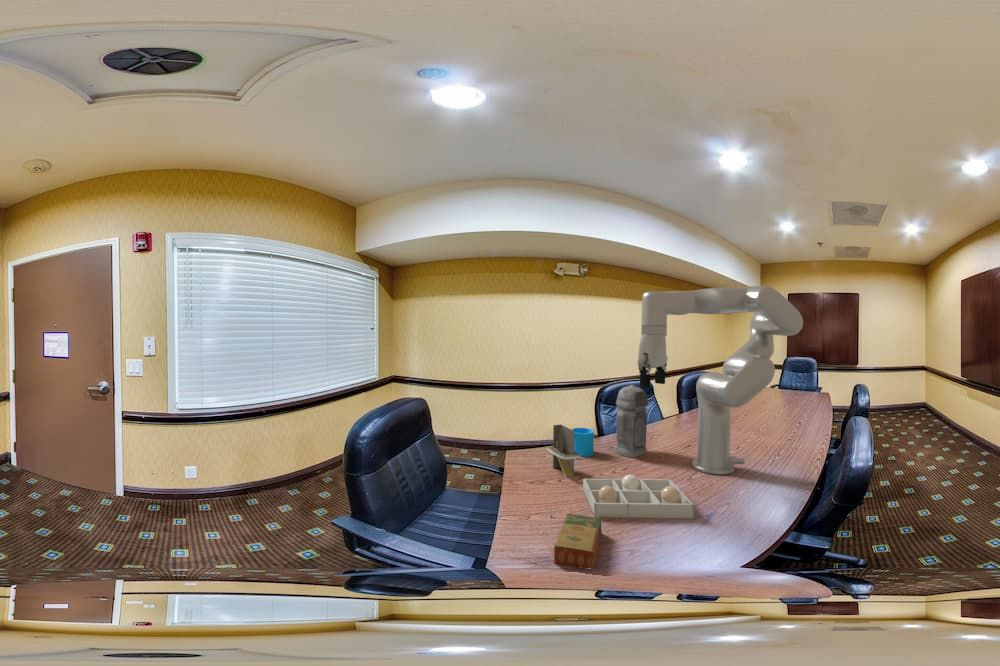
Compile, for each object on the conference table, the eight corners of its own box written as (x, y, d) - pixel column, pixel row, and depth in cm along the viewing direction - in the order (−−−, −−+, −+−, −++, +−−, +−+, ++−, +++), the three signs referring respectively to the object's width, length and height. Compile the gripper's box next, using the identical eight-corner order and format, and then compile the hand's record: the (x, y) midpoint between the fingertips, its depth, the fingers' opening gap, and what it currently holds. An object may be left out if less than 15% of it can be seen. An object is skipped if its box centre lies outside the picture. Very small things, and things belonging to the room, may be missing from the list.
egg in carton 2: (675, 504, 121) (676, 483, 120) (682, 512, 116) (682, 490, 116) (658, 504, 121) (658, 483, 121) (664, 512, 116) (664, 490, 116)
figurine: (652, 451, 167) (653, 384, 165) (629, 459, 158) (630, 388, 156) (629, 445, 174) (630, 380, 173) (606, 452, 165) (607, 384, 164)
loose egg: (636, 491, 129) (636, 472, 129) (641, 498, 124) (641, 478, 124) (619, 491, 129) (620, 471, 129) (624, 498, 124) (624, 477, 124)
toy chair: (552, 492, 131) (553, 442, 130) (518, 464, 154) (519, 421, 153) (611, 483, 137) (611, 435, 137) (570, 457, 161) (570, 416, 160)
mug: (582, 448, 171) (582, 426, 170) (598, 453, 164) (598, 431, 164) (558, 453, 164) (558, 431, 164) (573, 460, 158) (573, 436, 157)
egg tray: (669, 491, 131) (669, 479, 131) (693, 518, 114) (694, 504, 114) (582, 490, 131) (583, 478, 131) (594, 517, 114) (594, 503, 114)
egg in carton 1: (613, 503, 121) (613, 482, 121) (619, 510, 117) (619, 489, 116) (596, 504, 121) (596, 483, 120) (602, 512, 116) (602, 490, 116)
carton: (553, 565, 94) (553, 544, 94) (566, 529, 109) (566, 511, 109) (594, 572, 91) (594, 551, 91) (601, 534, 107) (601, 516, 106)
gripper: (655, 329, 151) (654, 380, 152) (628, 331, 139) (627, 387, 140) (677, 330, 146) (676, 383, 147) (651, 332, 134) (650, 390, 135)
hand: (652, 385), depth 143 cm, fingers open, 9 cm apart
